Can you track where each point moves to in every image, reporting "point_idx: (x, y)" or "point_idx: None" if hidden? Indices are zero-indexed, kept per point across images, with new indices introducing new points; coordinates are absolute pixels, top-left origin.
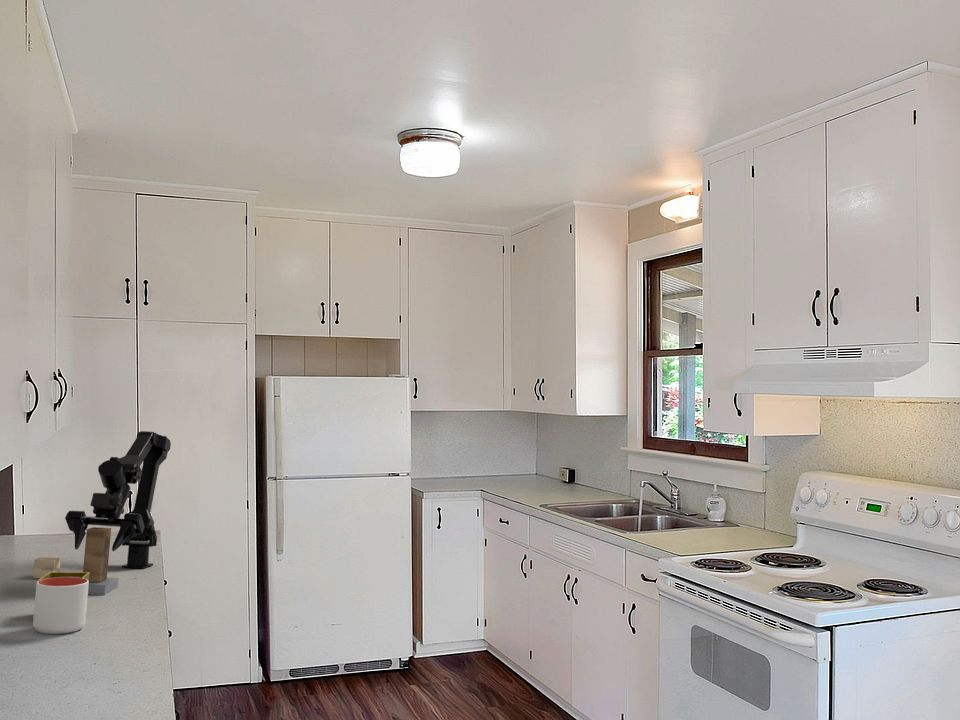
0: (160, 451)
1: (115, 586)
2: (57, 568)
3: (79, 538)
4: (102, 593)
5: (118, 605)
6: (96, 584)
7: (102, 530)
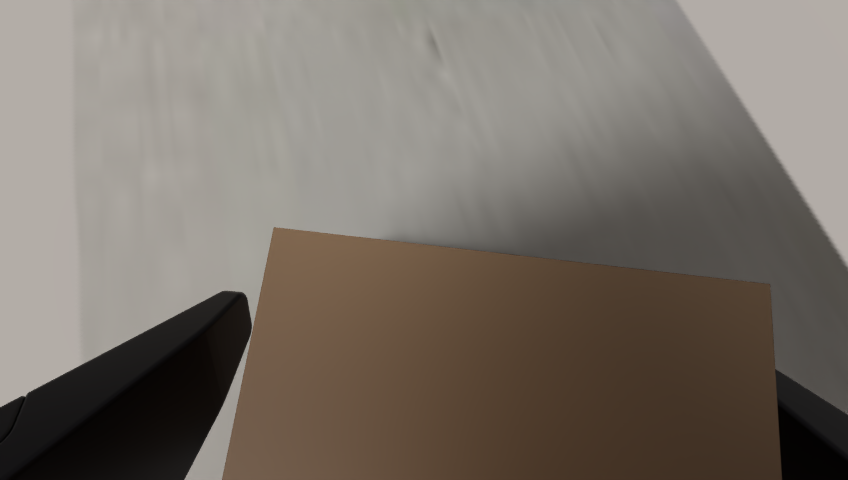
0: None
1: None
2: None
3: (811, 478)
4: None
5: (246, 68)
6: None
7: (328, 241)
